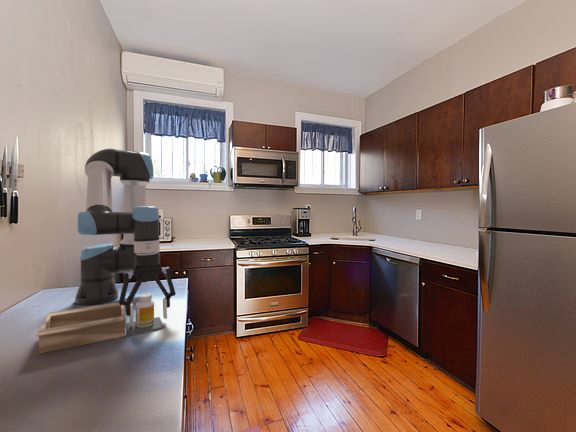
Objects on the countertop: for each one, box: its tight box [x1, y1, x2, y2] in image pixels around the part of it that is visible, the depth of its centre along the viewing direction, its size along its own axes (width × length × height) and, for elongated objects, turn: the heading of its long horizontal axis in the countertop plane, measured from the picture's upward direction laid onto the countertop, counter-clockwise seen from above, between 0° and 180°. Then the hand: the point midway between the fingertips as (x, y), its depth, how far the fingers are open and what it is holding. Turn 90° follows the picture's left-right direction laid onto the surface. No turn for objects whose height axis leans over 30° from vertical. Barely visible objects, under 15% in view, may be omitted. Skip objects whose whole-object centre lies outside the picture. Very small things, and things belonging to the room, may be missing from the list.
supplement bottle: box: [135, 293, 155, 328], centre depth 89 cm, size 5×5×10 cm
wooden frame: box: [36, 302, 127, 355], centre depth 82 cm, size 19×20×6 cm
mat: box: [125, 316, 165, 337], centre depth 89 cm, size 10×10×1 cm
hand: (149, 320), depth 90 cm, fingers open, 9 cm apart
